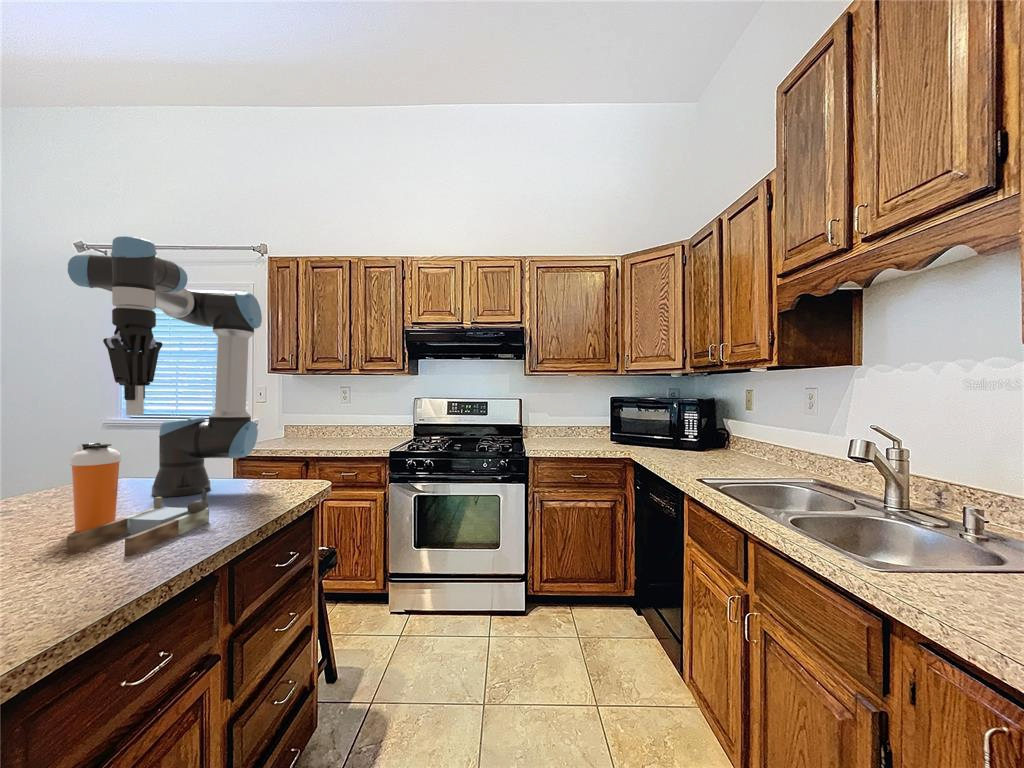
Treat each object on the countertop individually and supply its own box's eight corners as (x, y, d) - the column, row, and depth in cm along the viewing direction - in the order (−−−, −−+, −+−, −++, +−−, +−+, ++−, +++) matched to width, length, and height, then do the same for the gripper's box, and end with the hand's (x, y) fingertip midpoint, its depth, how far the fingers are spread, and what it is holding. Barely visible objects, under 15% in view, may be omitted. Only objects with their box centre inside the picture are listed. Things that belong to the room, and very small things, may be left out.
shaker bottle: (89, 535, 104) (90, 447, 104) (59, 532, 106) (60, 445, 106) (129, 523, 113) (130, 442, 113) (100, 520, 115) (101, 441, 115)
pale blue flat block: (165, 523, 115) (165, 506, 115) (196, 524, 114) (197, 507, 114) (129, 536, 105) (129, 518, 105) (163, 537, 104) (163, 519, 104)
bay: (159, 519, 116) (159, 484, 116) (213, 521, 116) (213, 485, 116) (66, 553, 93) (67, 509, 93) (133, 555, 92) (134, 511, 92)
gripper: (142, 312, 109) (143, 411, 109) (90, 304, 96) (90, 417, 96) (173, 313, 108) (173, 412, 109) (124, 304, 95) (125, 418, 96)
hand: (134, 414), depth 103 cm, fingers closed
